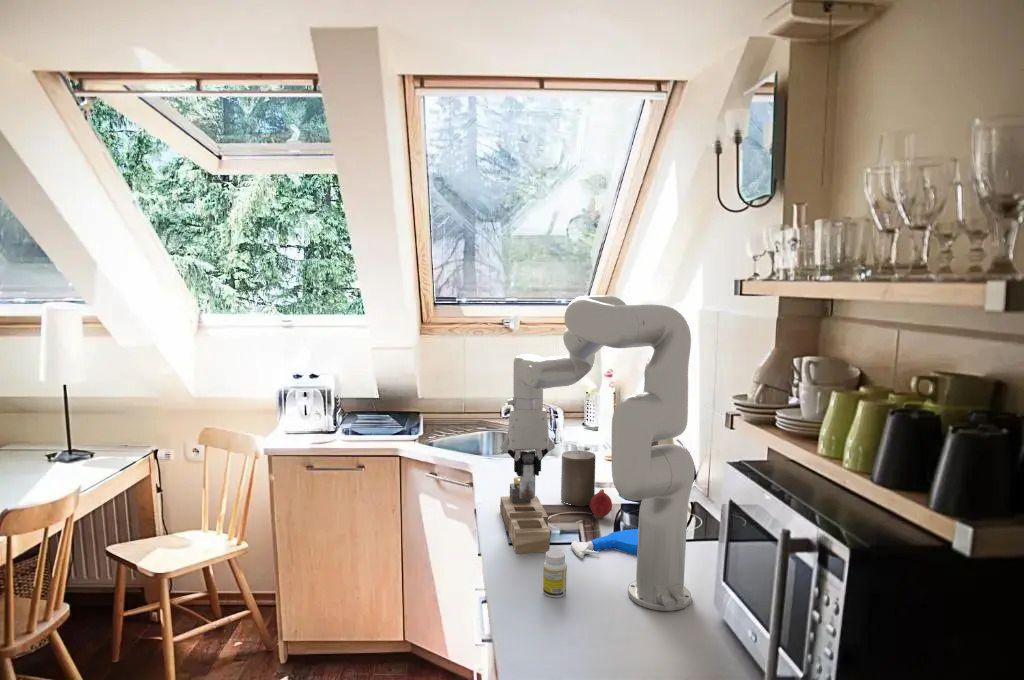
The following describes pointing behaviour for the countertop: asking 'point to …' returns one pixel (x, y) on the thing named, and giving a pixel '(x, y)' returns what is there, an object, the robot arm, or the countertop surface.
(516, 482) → the round brass peg
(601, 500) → the onion
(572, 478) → the pillar candle
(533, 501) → the socket block
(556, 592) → the supplement bottle
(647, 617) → the countertop surface
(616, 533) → the spray bottle
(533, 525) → the frame
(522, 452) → the capped metal cylinder
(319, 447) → the countertop surface
